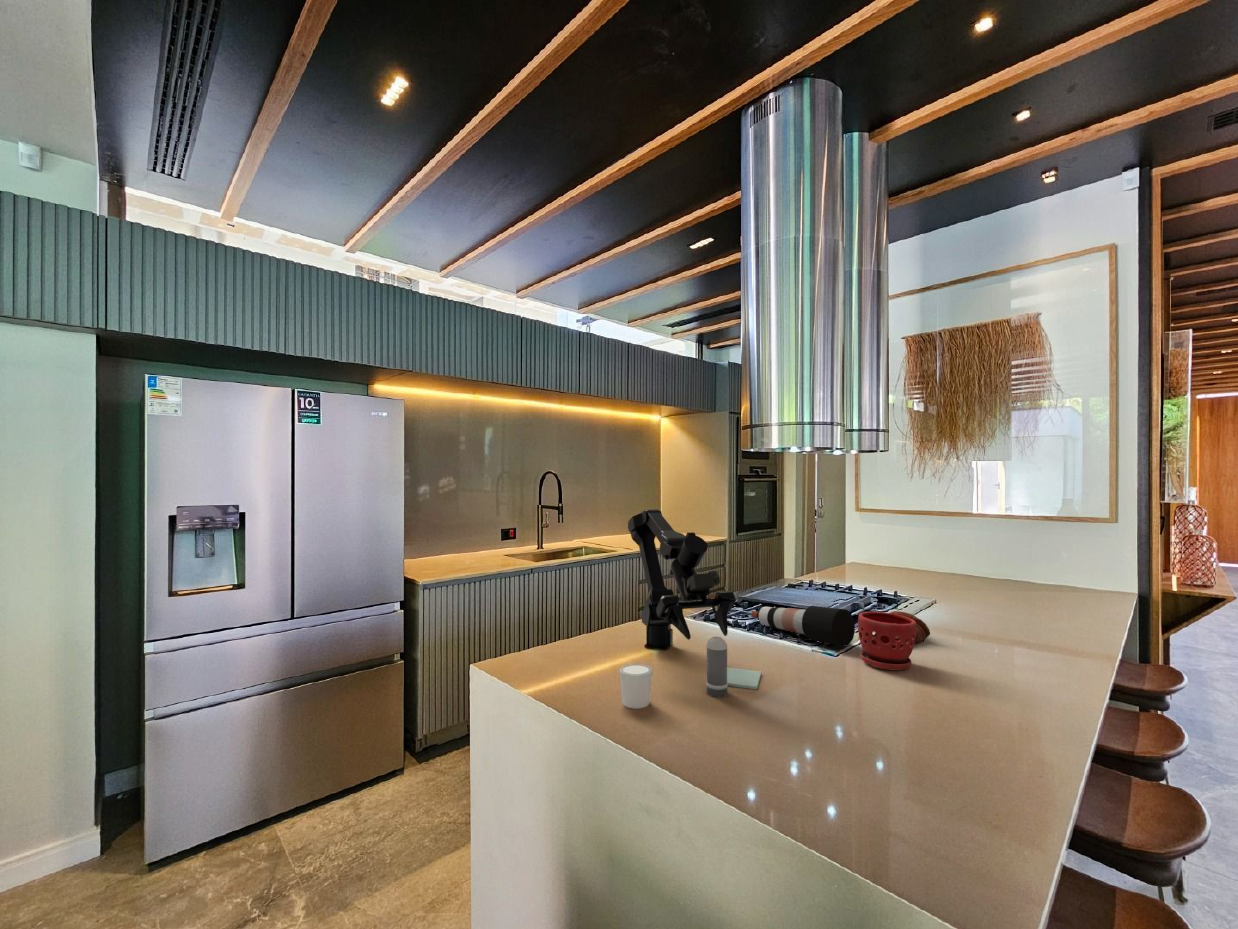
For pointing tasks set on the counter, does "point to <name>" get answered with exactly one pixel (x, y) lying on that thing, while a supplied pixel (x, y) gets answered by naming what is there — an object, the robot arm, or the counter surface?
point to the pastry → (921, 627)
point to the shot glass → (635, 685)
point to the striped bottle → (811, 622)
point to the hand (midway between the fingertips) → (708, 636)
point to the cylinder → (717, 667)
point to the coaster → (743, 678)
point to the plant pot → (886, 639)
